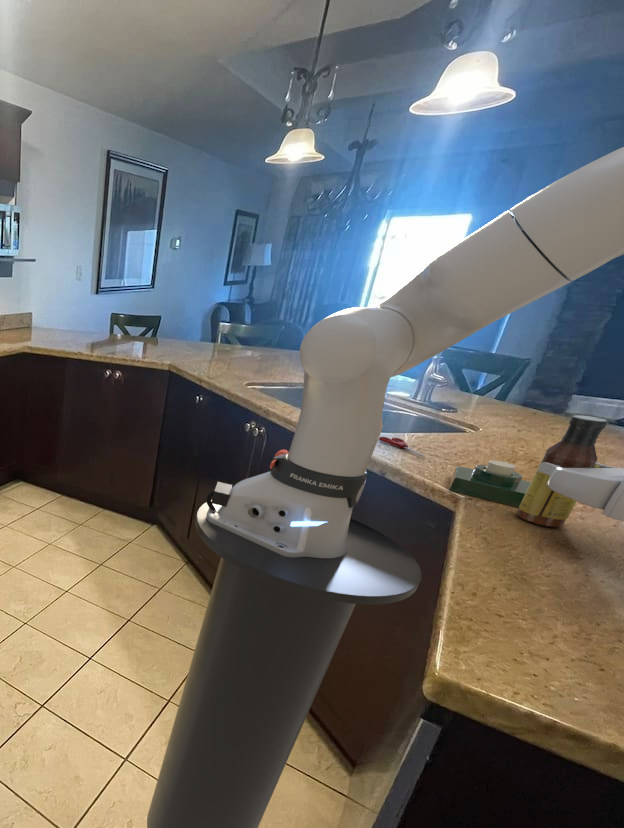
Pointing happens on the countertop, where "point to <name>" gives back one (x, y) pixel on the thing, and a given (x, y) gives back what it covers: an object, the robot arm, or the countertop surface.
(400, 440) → the scissors
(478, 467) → the base
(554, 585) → the countertop surface
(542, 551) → the countertop surface
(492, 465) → the white short cylinder
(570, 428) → the sauce bottle
